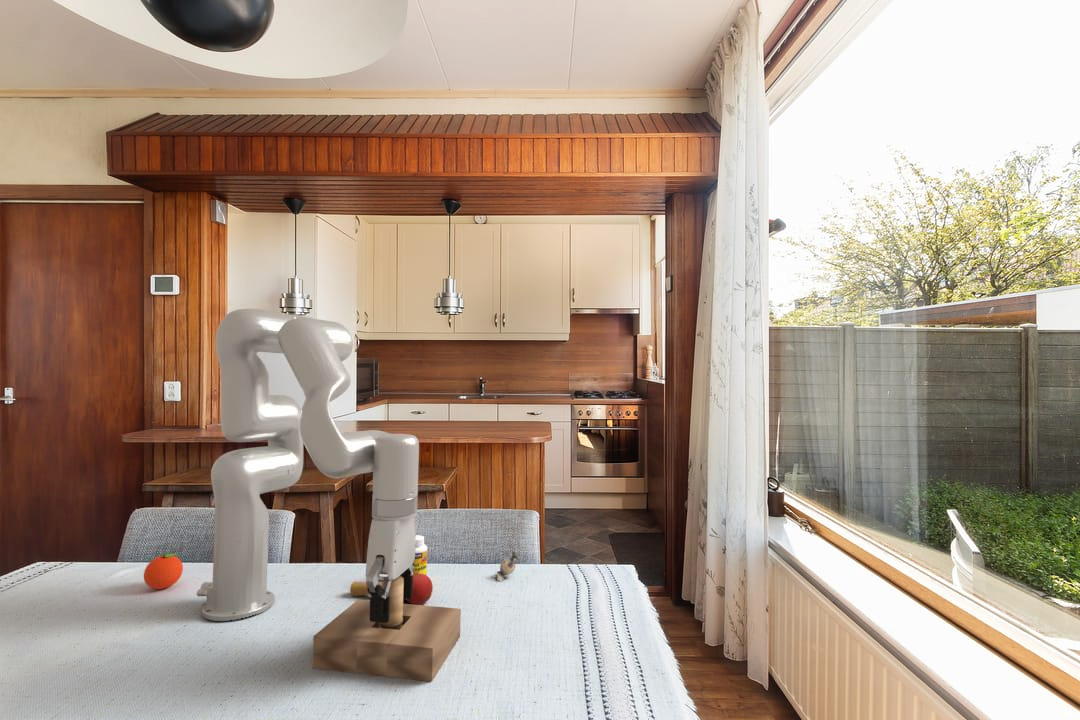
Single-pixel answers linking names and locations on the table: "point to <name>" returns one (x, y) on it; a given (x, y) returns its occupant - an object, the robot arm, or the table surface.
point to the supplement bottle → (420, 556)
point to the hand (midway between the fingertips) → (392, 608)
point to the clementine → (163, 571)
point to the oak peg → (395, 604)
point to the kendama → (420, 596)
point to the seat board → (388, 642)
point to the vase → (507, 566)
